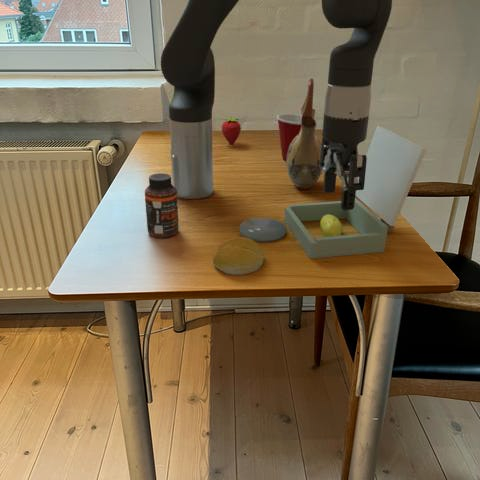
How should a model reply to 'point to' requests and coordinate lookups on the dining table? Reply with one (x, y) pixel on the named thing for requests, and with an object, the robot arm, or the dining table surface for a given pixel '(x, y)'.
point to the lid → (389, 173)
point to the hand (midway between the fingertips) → (337, 200)
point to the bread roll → (239, 256)
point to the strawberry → (231, 130)
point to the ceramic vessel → (305, 148)
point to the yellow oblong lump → (331, 226)
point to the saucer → (262, 229)
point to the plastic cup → (288, 130)
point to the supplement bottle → (161, 206)
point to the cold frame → (365, 242)
